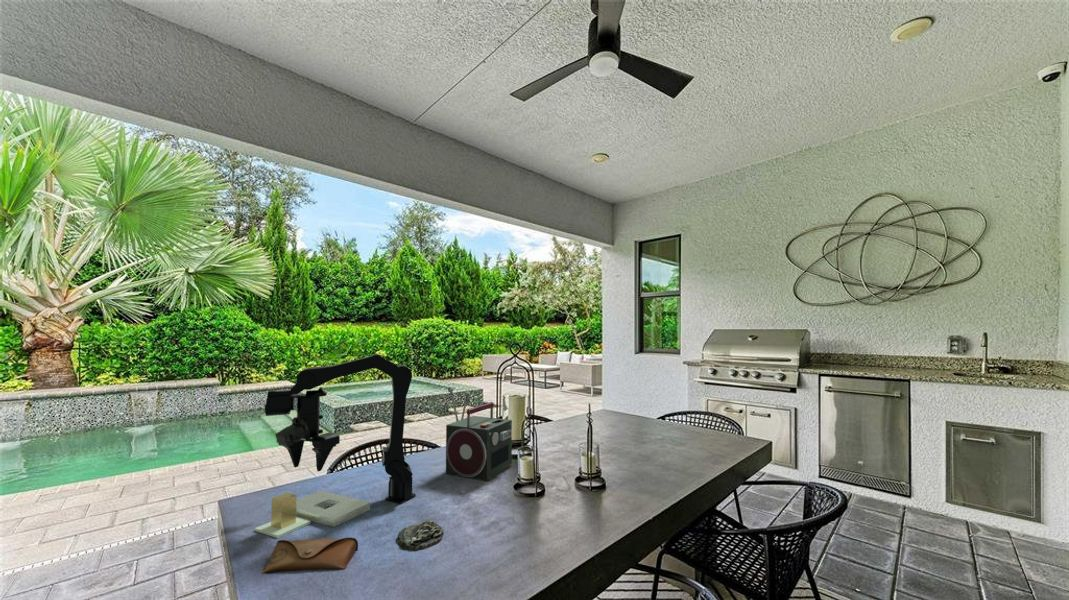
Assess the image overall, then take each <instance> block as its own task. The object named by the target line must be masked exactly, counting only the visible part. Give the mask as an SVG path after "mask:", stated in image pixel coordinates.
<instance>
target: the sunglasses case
mask: <svg viewBox="0 0 1069 600" xmlns="http://www.w3.org/2000/svg"><path fill="white" fill-rule="evenodd" d="M358 549H359V543H358V539H357V538H355V537H342V538H321V539H320V538H319V539H318V538H317V539H299V540H287V539H279V540H277V542H276V544H275V547H274V549H273V551H272V553H271V555H270V557H269V559H268V561H267V563H266V565H265V568H264V569H263V571H261V575H262V574H273V573H283V572H295V571H296V572H298V571H316V570H317V571H318V570H319V571H320V570H344V569H347V567H348V565H349V563H350V562H351V561H352V559H353V557H354V556H355V554H356V553H357V552H358Z"/></svg>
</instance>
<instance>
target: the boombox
mask: <svg viewBox="0 0 1069 600" xmlns="http://www.w3.org/2000/svg"><path fill="white" fill-rule="evenodd" d="M447 391H448V392H449V394H450V397H451V402H452V407H453V411H454V415H455V420H456V421H453V422H451V423H449V424H446V426H445V442H446V443H445V475H449V476H454V477H461V478H466V479H472V480H478V481H482V482H489V481H491V480H492V479H494V478H495V477H498V476H499V475H500V474H502V473H503V472H505V471H507V470H509V469H510V468H512V465H513V463H512V460H513V459H512V458H513V457H512V453H513V449H512V446H513V443H512V441H513V440H512V438H513V430H512V429H513V427H512V426H513V425H512V424H513V421H512V419H508V418H507V419H505V418H497V417H496V418H495V417H494V402H493V401H490V402H486V403H484V404H480V405H477V406H474V407H470V408H467V403H468V398H469V397H470V395H471V392H470V391H465V392H464V396H465V398H464V404H463V408H462V413H461V418H460V420H459V417H458V412H457V406H456V402H455V398H454V393H453V392H454V387H453V386H449V387H448V388H447ZM466 408H467V409H466ZM487 409H490V411H489V412H490V413H489V415H490V417H489V416H478V415H472V414H476V413H478V412H482V411H485V410H487ZM465 413H466V418H464V417H465ZM471 415H472V416H471Z"/></svg>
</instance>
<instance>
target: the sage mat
mask: <svg viewBox="0 0 1069 600" xmlns="http://www.w3.org/2000/svg"><path fill="white" fill-rule="evenodd" d="M311 523H312V521H310V520H307V519H303V518H300V517H296V523H294V524H292V525H290V526H287V527H285V528H283V529H279V528H275V527H272V526H271V521H268V522H266V523H264V524H261V525H260V526H256V527H255V528H254V531H255V532H257V533H261V534H264V535H267V536H269V537H273V538H276V539H279V538H282V537H284V536H286V535H288V534H290V533H293V532H294V531H296V530H298V529H299V530H300V529H301V528H303V527H305V526H308V525H310V524H311Z"/></svg>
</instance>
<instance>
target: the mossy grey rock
mask: <svg viewBox="0 0 1069 600" xmlns="http://www.w3.org/2000/svg"><path fill="white" fill-rule="evenodd" d="M443 530H445V529H444V527H441V525H440V524H438V523H437V522H435V521H433V520H424V521H422V522H421V523H419V524H414V525H413V524H412V525H409V526H407V527H404V528H402V529H401V531H399V532H398V534H397V539H396V544H397V545H398V546H399V548H401V549H402V550H404V551H407V550H408V551H413V552H418V551H420V550H426V549H427V548H431V547H432V546H436V545H438V544H440V543H441V542H442V540H443V536H444V531H443Z"/></svg>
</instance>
